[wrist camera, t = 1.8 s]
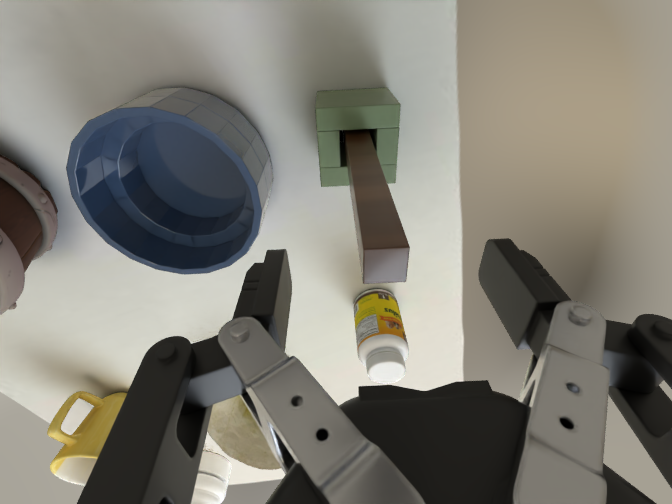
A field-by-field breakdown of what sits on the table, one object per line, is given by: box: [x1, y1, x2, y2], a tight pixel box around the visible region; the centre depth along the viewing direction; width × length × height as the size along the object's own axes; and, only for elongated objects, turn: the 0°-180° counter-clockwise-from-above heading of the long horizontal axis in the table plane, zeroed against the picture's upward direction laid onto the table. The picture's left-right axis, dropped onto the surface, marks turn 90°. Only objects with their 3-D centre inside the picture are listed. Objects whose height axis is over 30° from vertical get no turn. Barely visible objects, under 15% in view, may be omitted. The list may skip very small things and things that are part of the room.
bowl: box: [207, 395, 281, 470], centre depth 48 cm, size 15×14×10 cm
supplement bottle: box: [354, 289, 409, 384], centre depth 38 cm, size 6×6×10 cm
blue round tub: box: [66, 87, 273, 274], centre depth 28 cm, size 14×14×8 cm
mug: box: [47, 391, 127, 486], centre depth 49 cm, size 14×10×10 cm
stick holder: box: [315, 88, 400, 187], centre depth 27 cm, size 6×6×6 cm
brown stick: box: [343, 129, 410, 284], centre depth 21 cm, size 2×2×20 cm
